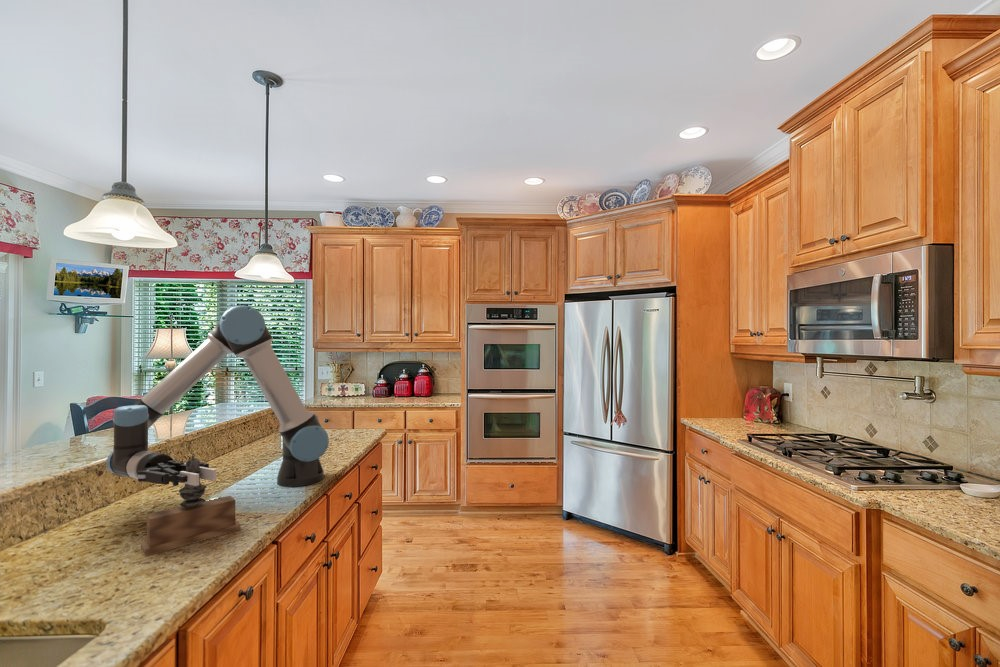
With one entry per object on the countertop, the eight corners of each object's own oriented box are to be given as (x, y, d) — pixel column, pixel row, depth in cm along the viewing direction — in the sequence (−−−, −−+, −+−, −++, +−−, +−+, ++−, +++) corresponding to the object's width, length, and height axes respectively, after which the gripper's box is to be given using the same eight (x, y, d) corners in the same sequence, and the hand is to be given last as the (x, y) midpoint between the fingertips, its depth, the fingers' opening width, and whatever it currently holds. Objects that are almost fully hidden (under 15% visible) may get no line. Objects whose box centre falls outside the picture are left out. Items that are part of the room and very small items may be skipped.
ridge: (233, 523, 125) (233, 494, 125) (240, 530, 120) (240, 499, 120) (141, 547, 111) (141, 514, 111) (144, 556, 106) (144, 521, 106)
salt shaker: (212, 500, 117) (212, 453, 117) (189, 508, 112) (189, 458, 112) (195, 497, 119) (195, 451, 119) (172, 505, 114) (172, 456, 114)
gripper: (183, 472, 131) (238, 483, 121) (114, 490, 116) (170, 503, 106) (183, 446, 131) (238, 454, 121) (114, 460, 116) (170, 471, 106)
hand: (206, 477), depth 113 cm, fingers closed on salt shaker, 3 cm apart
